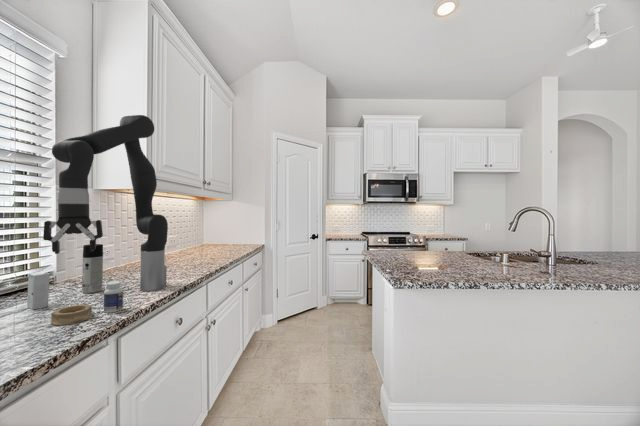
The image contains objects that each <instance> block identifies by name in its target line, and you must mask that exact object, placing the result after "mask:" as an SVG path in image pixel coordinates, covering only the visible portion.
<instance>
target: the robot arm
mask: <svg viewBox="0 0 640 426" xmlns="http://www.w3.org/2000/svg"><path fill="white" fill-rule="evenodd" d="M154 132H155V124H154V123H153V120H152V119H151V118H150V117H149V116H146V115H142V114H138V115H137V114H134V115H133V114H132V115H126V116H123V117H121V118H120V120H119V125H117V126H111V127H106V128H103V129H98V130H96V131H92V132H89V133H86V134H84V135H81V136H76V137H75V136H74V137H70V138H65V139H62V140H59V141H57V142H55V143H54V144H53V146H52V148H51V154H52V156H53V158H55V159H56V160H57V161H59V162H61V163H67V164H69V165H68V167H67V168H65V169H63V170H61V171H60V172H59V173H58V193H57V205H58V206H57V208H58V209H57V210H58V212H57V213H58V214H57V215H58V216H57V217H58V219H57V221H55V220H54V221H51V220H45V221H44V222H43V223H44V225H43V238H42V239H43V240H44V241H48V242H51V251H52V252H53V253H54V254H57V255H59V254H60V252H61V250H60V249H61V248H60V247H61V246H60V245H61V244H60V241H59V240H60V239H61V238H62V237H63V236H64V235H72V234H76V235H77V234H79V235H80V234H82V233H83V234H84V235H85V236H86V237H87V238H88V239H90V240H89V244H90V252H91V251H94V250H95V249H96V244H97V240H98V239H100V238H103V236H104V234H103V232H104V231H103V224H102V220H101V219H98V220H91V218H90V193H89V181H88V180H89V179H88V178H89V175H90V171H91V168H92V165H93V162H94V158H95V155H98V154H103V153H104V152H107V151H109V150H111V149H114V148H115V147H119V146H121V145H124V149H125V152H126V157H127V160H128V161H127V162H128V167H129V175H130V180H131V185H132V191H133V198H134V199H133V200H134V204H135V205H134V206H135V223H136V228H137V230H138V231H139V233H140V234H142V235H147V239H146V241H145V242H143V243H141V245H140V269H139V270H140V271H139V272H140V280H139V281H140V282H139V283H140V284H139V285H140V286H139V289H140V291H142V292H155V291H159V290H162V289H164V288H165V287H167V267H168V266H166V265H165V264H166V263H165V261H166V260H165V259H166V258H165V257H166V256H165V254H166V253H165V251H166V250H165V249H166V248H165V247H166V244H167V241H168V230H169V228H168V227H169V226H168V220H167V218H166V217H165V216H164V215H163V214H154V211H153V205H152V204H153V198H154V195H155V193H156V189H157V185H158V184H157V183H158V182H157V181H158V180H157V176H156V170H155V166H153V164H152V163H151V161H150V160H149V159H148V157H147V156H146V155H145V154H144V152H143V149H142V147H141V142H140V139H146V138H150V137H152V136H153V135H154ZM91 225H93V227H95V228H96V234H93V232H92V231H91V230H90V229H89V227H90V226H91ZM55 226H57V227H58V228H59V229H60V230H58V232H57V233H56V234H55V235H54V236H52V229H53V228H55Z"/></svg>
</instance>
